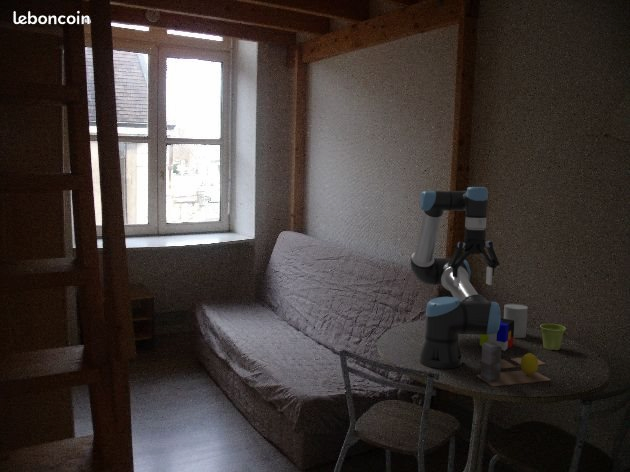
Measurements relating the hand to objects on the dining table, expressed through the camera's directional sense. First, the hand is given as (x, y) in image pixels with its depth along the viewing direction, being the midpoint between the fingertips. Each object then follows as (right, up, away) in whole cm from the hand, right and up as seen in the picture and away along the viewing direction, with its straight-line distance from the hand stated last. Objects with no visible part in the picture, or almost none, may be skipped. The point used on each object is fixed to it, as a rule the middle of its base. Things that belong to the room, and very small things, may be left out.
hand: (472, 285), depth 217 cm
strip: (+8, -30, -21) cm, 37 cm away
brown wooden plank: (+13, -28, -6) cm, 31 cm away
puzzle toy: (+14, -26, +16) cm, 33 cm away
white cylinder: (+26, -24, +31) cm, 47 cm away
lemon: (+14, -29, -20) cm, 38 cm away
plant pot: (+34, -26, +12) cm, 45 cm away
